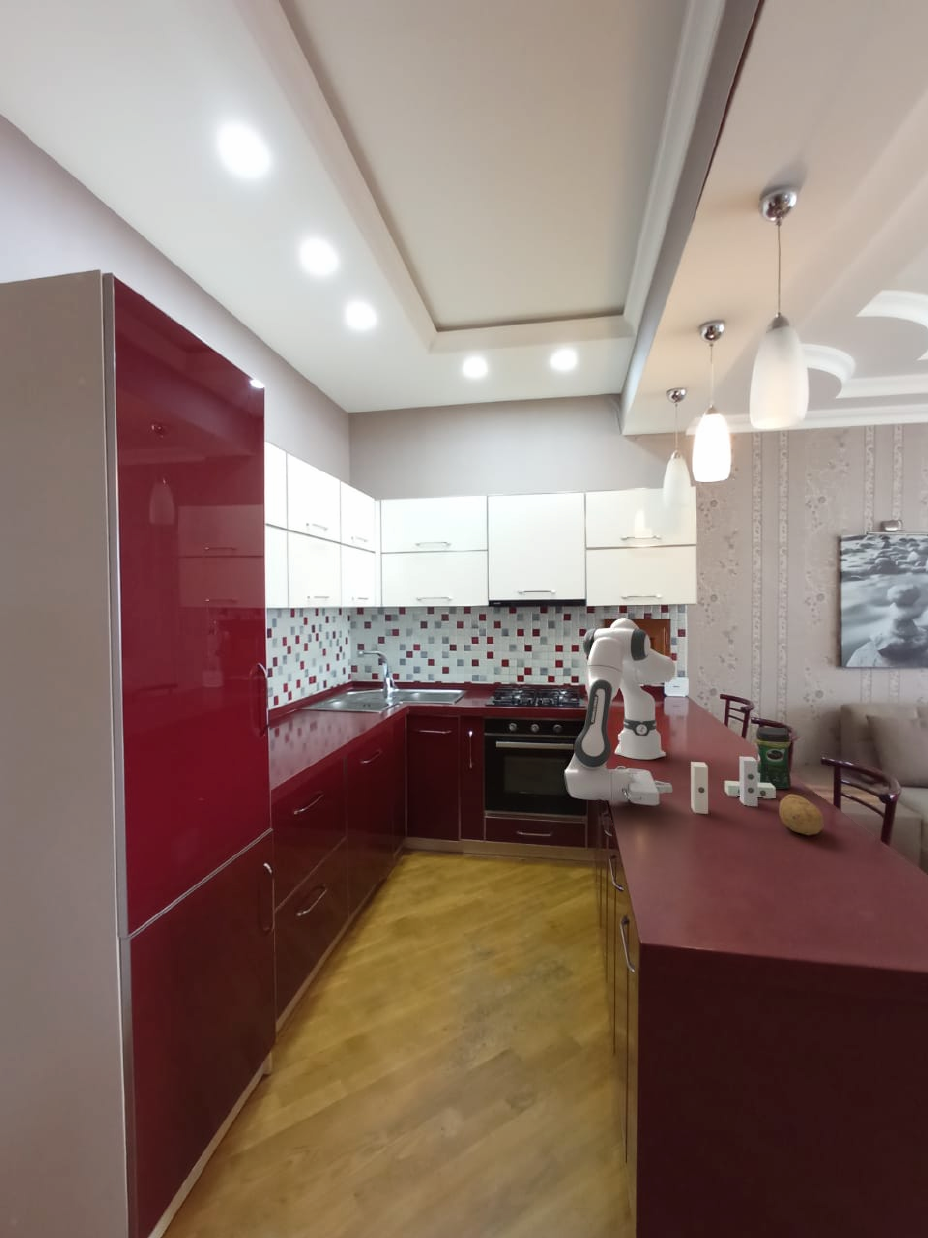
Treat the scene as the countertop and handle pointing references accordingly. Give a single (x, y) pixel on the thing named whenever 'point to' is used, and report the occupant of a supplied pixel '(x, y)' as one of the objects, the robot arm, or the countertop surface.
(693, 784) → the one-pip tile
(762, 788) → the white block
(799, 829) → the potato
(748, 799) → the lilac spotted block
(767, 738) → the coffee jar
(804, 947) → the countertop surface
